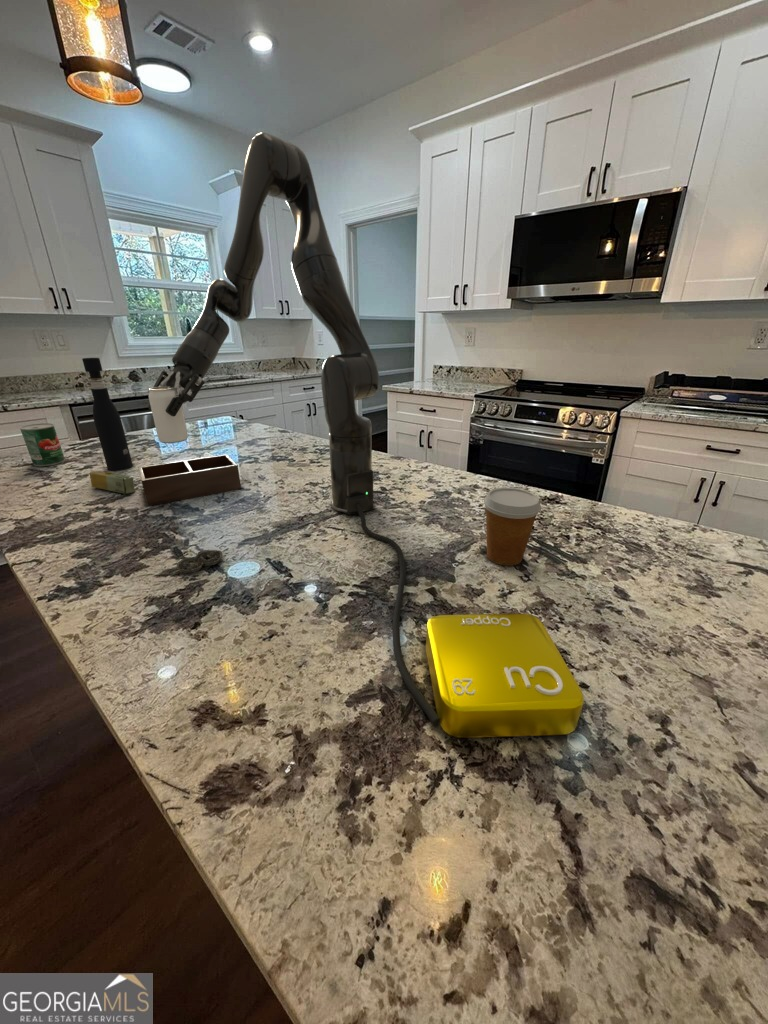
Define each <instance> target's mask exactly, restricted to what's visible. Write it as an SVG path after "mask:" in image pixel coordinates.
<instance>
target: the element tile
mask: <svg viewBox="0 0 768 1024" xmlns="http://www.w3.org/2000/svg"><path fill="white" fill-rule="evenodd" d="M425 637H426V639H425V653H426V658H427V665H428V670H429V675H430V682H431V687H432V694H433V698H434V704H435V711H436V714H437V715H438V717H439V724H438V725H440V727H441V728H442V730H443V732H445V733H446V734H448V735H449V736H451V737H455V738H459V739H460V738H461V739H463V738H466V739H467V738H497V737H498V738H500V737H502V738H503V737H536V736H542V737H543V736H565V735H570V734H571V733H573V732H575V730H576V728H577V727H578V723H579V720H580V716H581V713H582V710H583V706H584V703H585V702H584V693H583V691H582V689H581V688H580V686H579V684H578V682H577V680H576V679H575V677H574V676H573V673H572V672H571V670H570V668H569V667H568V665H567V663H566V661H565V660H564V658H563V656H562V655H561V653H560V651H559V649H558V648H557V646H556V644H555V642H554V640H553V639H552V636H551V635H550V634H549V631H548V630H547V628H546V627H545V624H544V623H543V622H542V621H541V620H540V619H539V618H537V616H535V615H532V614H529V613H528V614H527V613H479V614H477V613H476V614H473V613H471V614H470V613H469V614H438V615H435V616H432V617H430V618H429V619H428V621H427V623H426V635H425Z"/></svg>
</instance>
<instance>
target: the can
mask: <svg viewBox="0 0 768 1024" xmlns="http://www.w3.org/2000/svg"><path fill="white" fill-rule="evenodd" d="M148 391H149V392H148V400H149V404H150V405H151V410H152V411H151V410H150V411H151V415H152V418H153V422H154V427H155V432H156V435H157V439H158V441H159V442H160V443H163V444H177V443H182V442H185V441H188V438H189V433H188V428H187V422H186V418H185V413H184V409H183V405H182V406H181V407H180V409H179V411H178V412H177V414H176V416H171V415H169V414H168V413H167V412H166V408H167V407H168V405H169V403H170V402H171V400H172V399H173V398H176V397H175V392H176V390H175V388H174V387H170V386H164V387H160V386H159V387H154V388H153V387H150V388H148Z"/></svg>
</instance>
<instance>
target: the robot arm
mask: <svg viewBox="0 0 768 1024" xmlns="http://www.w3.org/2000/svg"><path fill="white" fill-rule="evenodd" d="M246 153H247V154H246V156H245V162H244V166H243V167H244V168H243V175H242V181H241V188H240V195H239V200H238V201H239V202H238V209H237V216H236V223H235V228H234V232H233V237H232V241H231V244H230V247H229V250H228V253H227V256H226V260H225V263H224V267H223V273H224V275H225V277H226V278H227V279H228V281H227V280H226V279H223V278H216V279H214V280H213V281H211V282H210V283H209V285H208V289H207V294H206V298H205V303H204V306H203V310H202V312H201V314H200V316H199V318H198V319H197V321H196V322H195V324H194V326H193V327H192V329H191V330H190V331H189V332H188V333H187V334H186V336H185V337H184V339H183V341H182V342H181V344H180V345H179V347H178V348H177V350H176V351H175V354H174V355H173V356H172V359H171V361H172V363H173V366H174V367H173V368H172V369H171V370H170V372H167V371H166V370H162V371H161V373H160V374H159V376H158V377H157V380H156V381H155V383H154V385H153V386H152V388H154V387H164V386H170V387H174V388H175V390H176V392H175V397H176V398H173V399H172V400H171V402H170V403H169V405H168V407H167V408H166V412H167V413H168V414H169V415H171V416H176V414H177V412H178V411H179V409H180V407H181V406H182V407H183V405H185V404H186V403H187V402H188V403H191V402H193V401H194V399H195V398H196V397H197V395H198V393H199V392H200V390H201V389H202V387H203V386H204V385H205V380H204V378H205V376H206V375H207V373H208V371H209V370H210V368H211V366H212V365H213V364H214V361H215V360H216V358H217V357H218V354H219V351H220V350H221V347H222V346H223V345H224V342H225V341H226V339H227V338H228V336H229V334H230V327H229V324H228V323H227V322H226V321H225V319H224V318H223V317H222V316H220V315H219V314H218V312H220V313H221V314H223V315H224V316H226V317H227V318H229V319H230V320H231V321H234V322H236V323H239V324H240V323H244V322H246V321H247V320H248V319H249V318H250V316H251V314H252V311H253V303H254V302H253V301H254V288H255V287H254V286H255V282H256V279H257V276H258V274H259V271H260V268H261V266H262V264H263V263H262V262H263V260H264V256H265V244H264V237H263V231H262V226H261V225H262V224H261V212H262V209H263V206H264V203H265V201H266V199H267V197H268V196H269V197H272V198H276V199H279V200H283V201H285V203H286V204H287V206H288V208H289V211H290V213H291V216H292V219H293V223H294V227H295V234H294V240H293V244H292V249H291V253H290V265H291V270H292V274H293V277H294V280H295V283H296V285H297V288H298V292H299V294H300V297H301V299H302V301H303V302H304V304H305V306H306V307H307V308H308V309H309V310H310V312H311V313H312V314H313V316H314V317H315V318H316V319H317V320H319V322H320V323H321V324H322V325H323V326H324V328H325V329H326V330H327V331H328V332H329V334H330V335H331V336H332V338H333V340H334V341H335V343H336V345H337V348H338V350H339V353H340V354H339V353H337V354H333V355H329V356H328V357H326V359H325V360H324V361H323V364H322V367H321V372H320V373H321V374H320V381H321V383H320V385H321V393H322V402H323V411H324V413H323V414H324V417H325V421H326V424H327V428H328V442H329V445H328V446H329V460H330V462H329V465H330V483H331V496H332V497H331V499H332V500H331V507H332V508H333V509H334V510H335V511H336V512H339V513H344V514H348V515H350V516H352V515H355V514H358V515H359V518H360V526H361V529H362V530H363V532H364V533H365V534H366V535H368V536H369V537H371V538H373V539H375V540H378V541H382V542H385V543H387V544H389V545H390V546H391V547H393V549H394V551H395V552H396V553H397V558H398V564H399V579H398V585H397V592H396V597H395V598H396V599H395V604H394V608H393V615H392V647H393V648H392V649H393V653H394V658H395V661H396V665H397V668H398V670H399V674H400V676H401V678H402V680H403V682H404V684H405V687H406V688H407V689H408V691H409V693H410V694H411V696H412V697H413V698H414V700H415V701H416V703H417V704H418V705H419V707H420V708H421V709H422V711H423V712H424V714H425V715H426V717H427V718H428V720H429V721H430V723H431V724H432V726H438V725H440V724H439V717H438V715H437V711H436V710H435V709H434V708H433V706H432V705H431V704H430V702H429V700H427V698H426V697H425V696H424V694H423V693H422V692H421V690H420V689H419V688H418V686H417V685H416V683H415V681H414V680H413V678H412V676H411V674H410V672H409V669H408V668H407V665H406V663H405V660H404V656H403V652H402V646H401V634H400V633H401V632H400V631H401V630H400V622H401V621H400V619H401V612H402V606H403V600H404V593H405V592H404V591H405V584H406V577H407V570H406V562H405V557H404V553H403V550H402V548H401V547H400V545H399V544H398V543H397V542H396V541H395V540H393V539H392V538H390V537H387V536H384V535H381V534H378V533H375V532H373V531H372V530H370V528H368V525H367V522H366V516H365V514H364V512H368V511H372V510H374V470H373V463H372V461H373V460H372V458H373V456H372V449H373V448H372V444H373V443H372V442H373V441H372V433H373V432H372V431H373V430H372V421H371V419H370V418H368V417H366V416H363V415H360V414H358V413H357V411H356V410H357V409H356V402H355V401H358V400H360V401H361V400H365V399H369V398H371V397H373V396H375V395H376V393H377V392H378V390H379V387H380V373H379V368H378V365H377V362H376V360H375V357H374V355H373V352H372V350H371V348H370V346H369V344H368V341H367V339H366V336H365V334H364V333H363V331H362V328H361V325H360V323H359V321H358V318H357V315H356V312H355V310H354V307H353V305H352V301H351V299H350V296H349V293H348V290H347V287H346V283H345V280H344V278H343V277H344V276H343V274H342V271H341V268H340V265H339V262H338V259H337V257H336V254H335V251H334V249H333V247H332V243H331V239H330V236H329V233H328V230H327V227H326V224H325V220H324V217H323V214H322V209H321V207H320V202H319V199H318V194H317V190H316V184H315V181H314V177H313V173H312V169H311V166H310V163H309V160H308V158H307V156H306V153H304V151H303V150H302V149H301V147H299V146H297V145H296V144H294V143H292V142H289V141H287V140H284V139H283V138H280V137H277V136H275V135H273V134H270V133H267V132H259V133H257V134H255V136H254V137H253V138H252V139H251V142H250V144H249V146H248V149H247V152H246ZM217 311H218V312H217ZM147 408H148V410H150V411H151V412H152V410H151V405H150V403H149V404H148V406H147Z"/></svg>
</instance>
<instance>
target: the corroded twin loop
mask: <svg viewBox="0 0 768 1024" xmlns="http://www.w3.org/2000/svg"><path fill="white" fill-rule="evenodd" d="M222 556H223V551H222V550H218V549H207V550H202V551H199V552H198V553H197V554H196V555H195V556H193V557H192V556H191V557H190V556H189V557H185V558H182V559H180V561H178V562H177V563H176V569H177V571H179V572H180V573H195V572H198V571H200V570H201V569H202V567H210V566H215V565H217V564H218V563H219V562H220V560H221V558H222ZM206 558H207V559H206ZM192 564H193V565H192Z"/></svg>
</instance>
